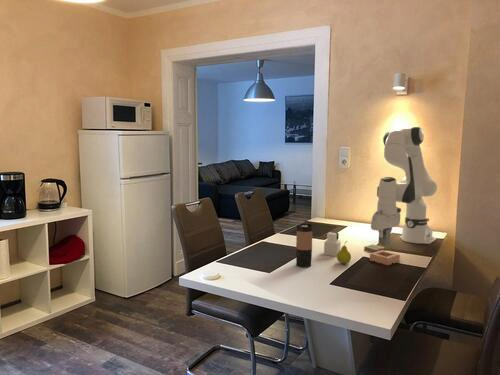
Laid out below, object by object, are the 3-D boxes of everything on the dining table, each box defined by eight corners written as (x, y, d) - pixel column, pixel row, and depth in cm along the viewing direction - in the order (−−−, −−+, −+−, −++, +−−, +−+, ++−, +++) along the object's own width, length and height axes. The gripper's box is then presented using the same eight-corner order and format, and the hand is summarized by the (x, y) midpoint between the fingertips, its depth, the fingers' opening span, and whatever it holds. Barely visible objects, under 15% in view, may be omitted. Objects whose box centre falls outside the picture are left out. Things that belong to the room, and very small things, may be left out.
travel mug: (311, 268, 193) (312, 227, 191) (295, 267, 195) (296, 226, 192) (311, 263, 201) (312, 223, 198) (296, 262, 202) (297, 223, 199)
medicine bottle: (327, 251, 221) (328, 230, 220) (340, 253, 218) (341, 231, 217) (323, 254, 215) (324, 232, 214) (337, 256, 212) (337, 234, 210)
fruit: (333, 262, 203) (334, 238, 201) (345, 260, 205) (346, 237, 204) (341, 266, 197) (342, 242, 195) (353, 264, 199) (354, 241, 197)
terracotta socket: (381, 256, 213) (381, 250, 212) (399, 261, 205) (399, 254, 204) (369, 260, 206) (369, 253, 206) (387, 265, 198) (388, 258, 198)
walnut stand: (372, 247, 229) (372, 244, 229) (385, 251, 223) (385, 247, 223) (364, 250, 224) (364, 246, 224) (376, 253, 218) (376, 249, 218)
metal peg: (383, 242, 207) (383, 227, 206) (389, 244, 204) (390, 228, 203) (378, 243, 205) (379, 228, 204) (385, 245, 202) (386, 229, 201)
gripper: (379, 212, 193) (378, 241, 195) (403, 208, 206) (401, 235, 208) (368, 210, 198) (367, 238, 200) (392, 206, 211) (390, 232, 213)
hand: (384, 236), depth 204 cm, fingers closed on metal peg, 4 cm apart
